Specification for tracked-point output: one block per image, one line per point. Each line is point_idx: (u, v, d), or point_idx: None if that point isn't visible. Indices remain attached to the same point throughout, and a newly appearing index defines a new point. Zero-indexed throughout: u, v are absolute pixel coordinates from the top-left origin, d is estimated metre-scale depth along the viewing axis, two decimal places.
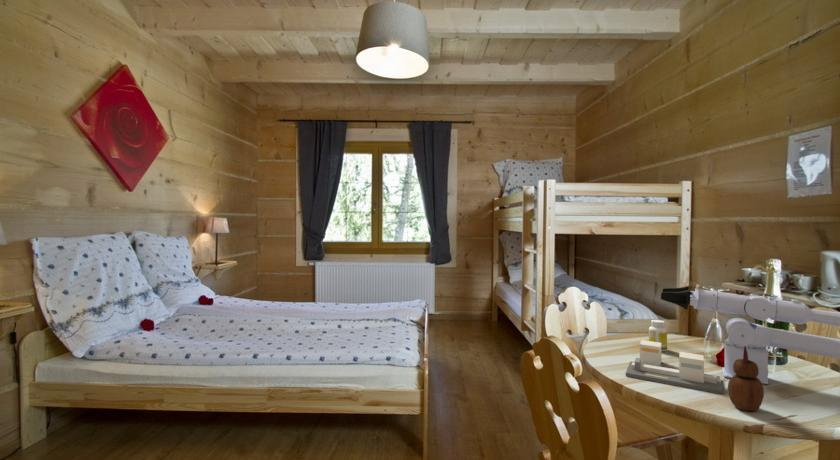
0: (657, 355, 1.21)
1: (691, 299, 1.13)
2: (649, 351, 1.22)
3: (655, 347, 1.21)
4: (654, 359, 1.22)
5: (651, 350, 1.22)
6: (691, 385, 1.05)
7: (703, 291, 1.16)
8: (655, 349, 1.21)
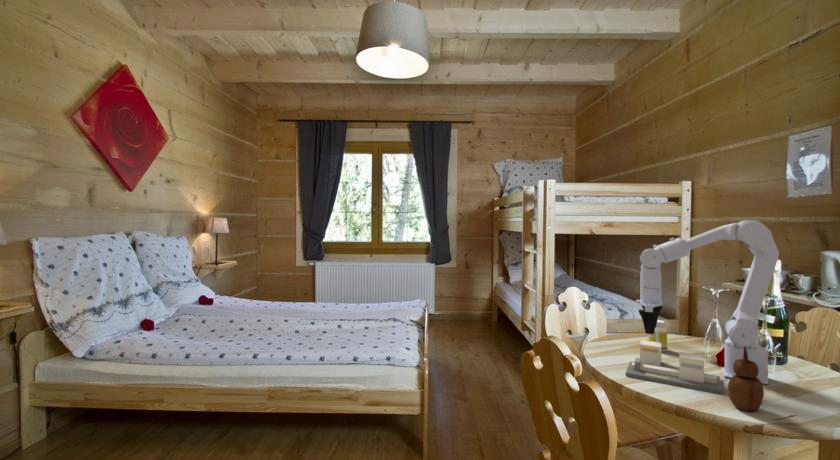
0: (657, 355, 1.21)
1: (646, 310, 1.19)
2: (649, 351, 1.22)
3: (655, 347, 1.21)
4: (654, 359, 1.22)
5: (651, 350, 1.22)
6: (691, 385, 1.05)
7: (641, 297, 1.25)
8: (655, 349, 1.21)
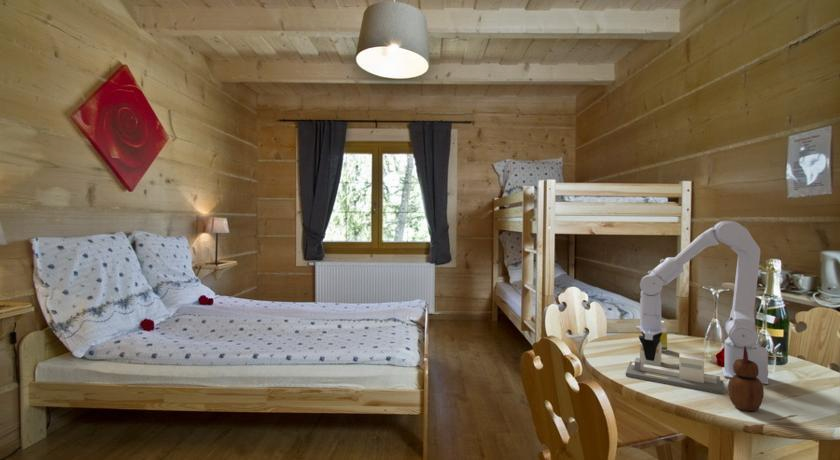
0: (657, 355, 1.21)
1: (646, 338, 1.19)
2: None
3: None
4: (654, 359, 1.22)
5: None
6: (691, 385, 1.05)
7: (641, 324, 1.25)
8: None
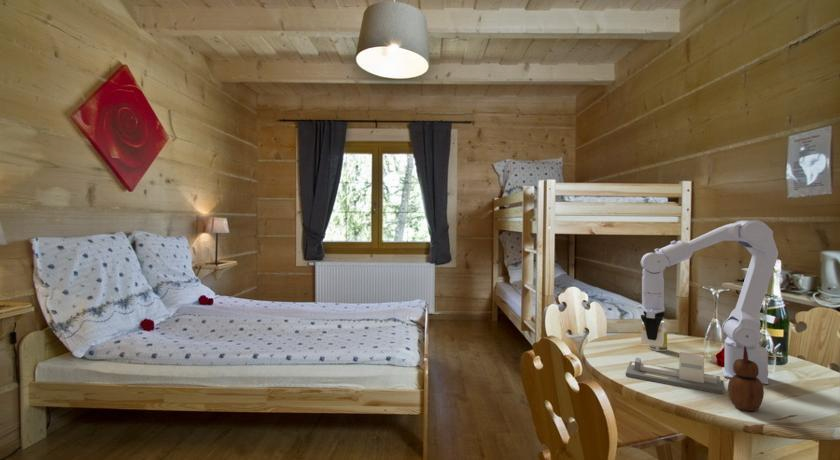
0: (659, 334, 1.18)
1: (647, 316, 1.15)
2: None
3: None
4: (656, 339, 1.18)
5: None
6: (691, 385, 1.05)
7: (642, 303, 1.21)
8: None
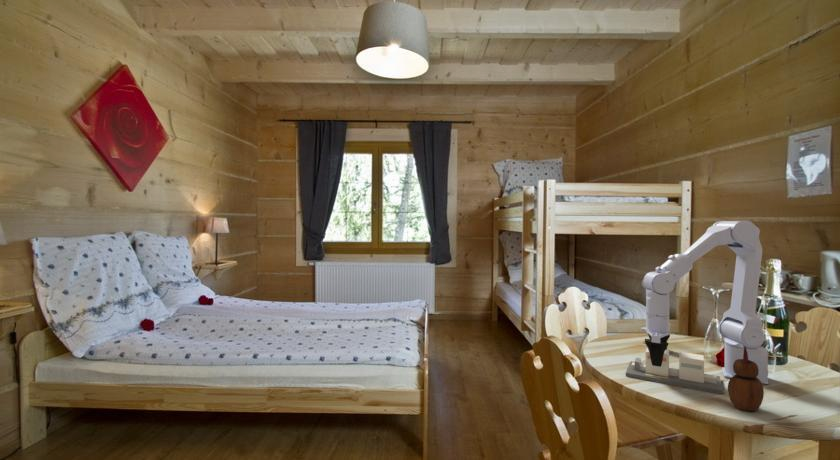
0: (664, 364, 1.11)
1: (652, 341, 1.08)
2: None
3: (663, 355, 1.11)
4: (661, 368, 1.11)
5: None
6: (691, 385, 1.05)
7: (647, 325, 1.14)
8: None
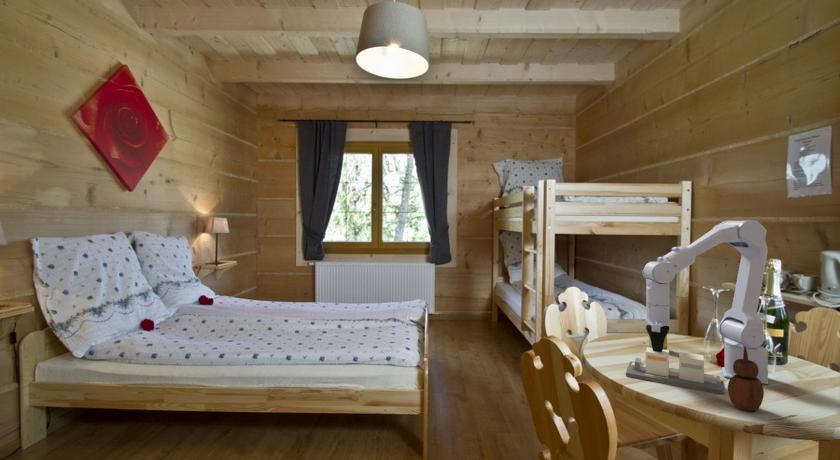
0: (664, 364, 1.11)
1: (652, 330, 1.08)
2: (655, 359, 1.12)
3: (663, 355, 1.11)
4: (661, 368, 1.11)
5: (658, 358, 1.12)
6: (691, 385, 1.05)
7: (647, 315, 1.14)
8: (662, 357, 1.11)
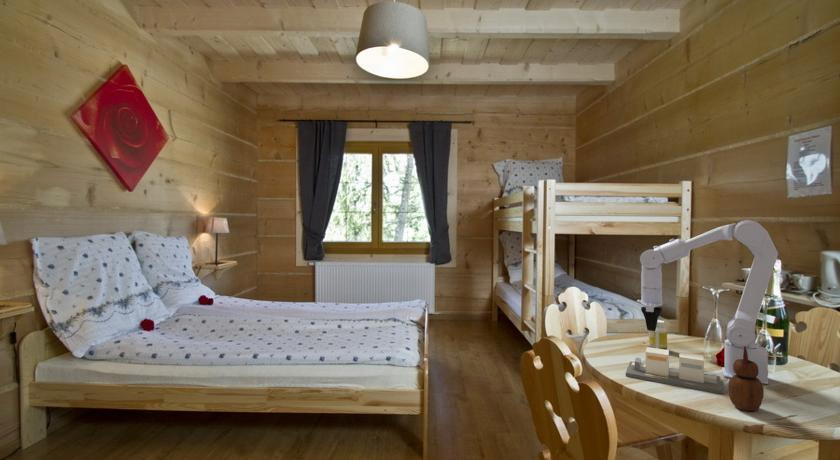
0: (664, 364, 1.11)
1: (647, 310, 1.21)
2: (655, 359, 1.12)
3: (663, 355, 1.11)
4: (661, 368, 1.11)
5: (658, 358, 1.12)
6: (691, 385, 1.05)
7: (642, 297, 1.27)
8: (662, 357, 1.11)
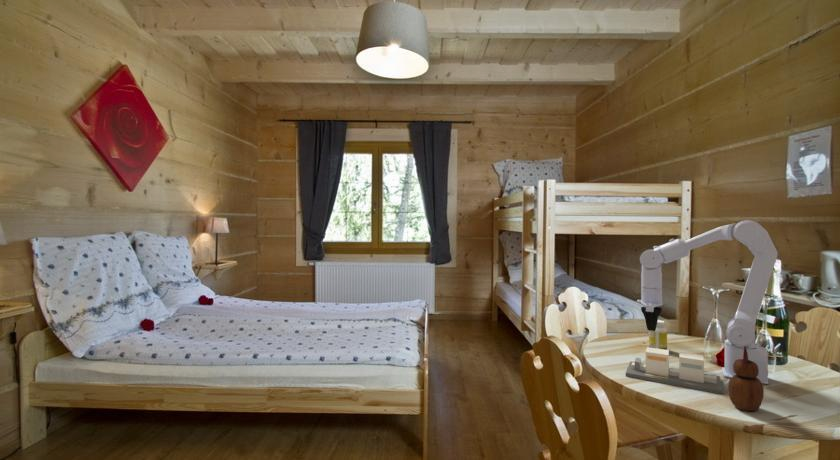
0: (664, 364, 1.11)
1: (646, 310, 1.21)
2: (655, 359, 1.12)
3: (663, 355, 1.11)
4: (661, 368, 1.11)
5: (658, 358, 1.12)
6: (691, 385, 1.05)
7: (642, 297, 1.27)
8: (662, 357, 1.11)
